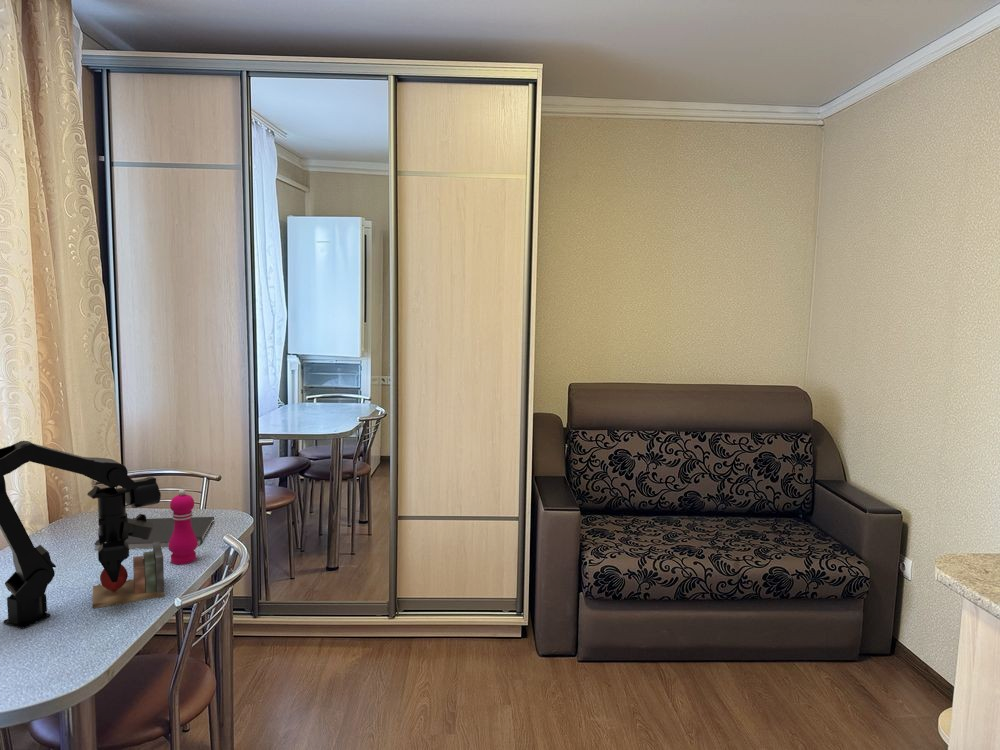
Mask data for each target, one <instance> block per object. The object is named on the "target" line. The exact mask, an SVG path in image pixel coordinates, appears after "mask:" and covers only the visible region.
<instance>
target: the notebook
mask: <svg viewBox="0 0 1000 750" xmlns="http://www.w3.org/2000/svg"><path fill="white" fill-rule="evenodd" d="M146 519H147V521H150V522H151V523H152V525H153V528H152V531H151V534H150V536H149V539H148V540H144V539H142V538H138V537H132V536H129V535H128V539H126V540H125V542H127V543H128V544H129V550H136V549H135V548H145V549H153V542H160V544H161V547H169V541H170V538H171V536H172V533H173V531H174V519H173V518H172V517H163V518H162V517H160V518H155V517H154V518H146ZM213 520H214V521H215V516H192V517H191V526H192V529H193V532H194V533H195V535H196V538H197V543H198V545H199V546H200V545H201V544H203V540H204V538H205V537H206V535H207V533H208V532H207V531H209V530H210V528H211V527H210V525H211V523H212V522H213ZM213 523H214V522H213ZM213 523H212V524H213ZM211 526H212V525H211ZM209 527H210V528H209ZM208 529H209V530H208ZM206 532H207V533H206ZM205 534H206V535H205ZM204 536H205V537H204ZM200 543H201V544H200ZM93 544H94V546H95V551H98V548H99V547H100V546H101V545H100V543H99V538H98V539H97V540H96V541H95V542H94V543H93ZM198 545H197V547H198Z"/></svg>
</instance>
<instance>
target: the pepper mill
mask: <svg viewBox="0 0 1000 750" xmlns="http://www.w3.org/2000/svg"><path fill="white" fill-rule="evenodd" d="M194 507H195V500H194V498H193V497H192V496H191V495H189V494H187V493H186V489H182V488H181V489H179V490H178V495H175V496H174V497H173V498H172V499H171V500H170V503H169V508H170V510H171V511H172V515H171V516H172V517H171V518H173V519H174V531H173V533H172V536H171V538H170V541H169V548H168V550H169V552H171V554H170V561H171V562H170V563H172V564H173V563H174V564H173V565H187V564H190V563H193V562H194V561H196V559H197V552H196V551H195V550H196V549H197V548H198V546H197V545H198V543H197V538H196V535H195V533H194V532H193V529H192V526H191V517H194V516H193V514H194V513H193V511H192V510H193V509H194Z"/></svg>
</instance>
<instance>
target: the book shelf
mask: <svg viewBox="0 0 1000 750" xmlns="http://www.w3.org/2000/svg"><path fill="white" fill-rule="evenodd" d="M132 565H133V568H132V571H133V578H132V579H127V580H126V582H125V584H124V585H123V586H122V587H120V588H119V589H118V590H116V591H111V590H108V589H106V588H105V587H103V585H102V584H96V585H92V609H97V608H103V607H109V606H115V605H121V604H125V603H126V604H128V603H131V602H139V601H143V600H144V599H145V600H150V599H155V598H156V599H157V598H161V597H160V596H162V597H165V573H164V572H165V569H164V555H163V548H161V544H160V542H153V548H152V551H144V552H142V555H138V556H133V557H132Z"/></svg>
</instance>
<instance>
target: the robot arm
mask: <svg viewBox="0 0 1000 750" xmlns="http://www.w3.org/2000/svg"><path fill="white" fill-rule="evenodd" d="M30 462H31V463H35V464H37V465H38V464H39V465H43V466H46V467H51V468H54V469H55V468H56V469H59V470H63V471H68V472H71V473H75V474H79V475H82V476H85V477H86V478H89V479H91V480H93V481H95V482H98V483H100V484H102V485H104V486H107V487H101V488H100V487H99V486H97V485H94V487H93V488H92V489H91V490H90V491H88V492H87V493H86V495H87V497H90V498H91V499H92V500H93V499H94V500H96V499H97V513H98V514H97V515H98V516H97V517H98V531H97V532H98V533H97V535H98V539H99V543H100V545H101V546H100V547H99V548H98V550H97V556H98V557H97V558H98V559H97V561H99V563H100V564H101V566H102V568H103V569H105V571H106V573H107V574H108V576H109V578H110V579H111V581H112V582H117V581H118V576H119V572H120V567H121V564H122V563H123V562H124V561H125V560H127V559H128V558H129V557H130V549H129V544H128V543H127V542H125V540H126V539H128V535H129V536H132V537H138V538H142V539H144V540H148V539H149V536H150V534H151V531H152V528H153V525H152V523H151V522H150V521H147V519H148V518H147V515H146V514H143V513H139V514H138V515H137V516H136V517H132V518H129V517H128V513H127V511H126V510H127V508H126V505H128V506H131V508H132V509H138V508H142V507H147V506H152V505H156V504H159V503H160V501H161V497H162V493H161V491H160V488H159V485H158V483H157V477H154V476H149V477H148V476H147V477H145V478H139V479H135V480H133V478H131V477H130V476H129V475H128V474H129V473H128V469H127V467H126V466H125V464H122V463H120V462H118V461H116V460H114V459H113V458H105V457H90V456H89V457H88V456H82V455H81V456H80V455H78V454H74V453H70V452H66V451H62V450H58V449H54V448H51V447H47V446H43V445H41V444H36V443H33V442H31V441H28V440H21V441H20V440H19V441H18V442H16V443H14V444H11V445H7V446H4V447H1V448H0V531H1V533H2V535H3V537H4V539H5V541H6V543H7V544H8V547H9V548H10V551H11V552H12V560H13V561H12V562H13V567H14V570H15V572H14V573H12V574H11V576H10V577H8V579H7V580H6V581H5V582H4V586H5V587H6V589H7V590H8V592H10V593H11V594H10V596H8V597H7V598H6V603H7V604H6V605H7V618H6V619H4V620H3V624H5V625H10V626H12V627H16V628H19V629H25V628H28V627H29V626H31V625H34V624H37V623H39V622H41V621H43V620H45V619H47V618H50V617H51V613H48V612H47V611H48V606H47V604H48V603H47V601H48V600H47V594H45V593H46V590H47V588H48V585H49V584H51V582H52V581H53V580H54V577H55V575H56V574H55V573H56V572H55V569H54V568H56V567H57V566H56V564H55V563H54V562H52V560H51V559H52V558H51V555H50V552H49V551H48V550H47V549H46V548H45V547H44V546H43V545H41V544H39V545H37V546H36V547H35V546H34V543H33V541H32V540H31V538H30V536H29V534H28V532H27V530H26V528H25V527H24V524H23V523H22V520H21V519H20V517H19V514H18V513H17V511H16V509H15V507H14V506H13V503H12V501H11V499H10V497H9V495H8V493H7V487H6V480H5V476H6V475H8V474H11V473H12V472H14V471H15V470H17V469H18V468H20V467H21V466H23V465H25V464H27V463H30ZM118 487H119V488H118Z"/></svg>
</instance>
